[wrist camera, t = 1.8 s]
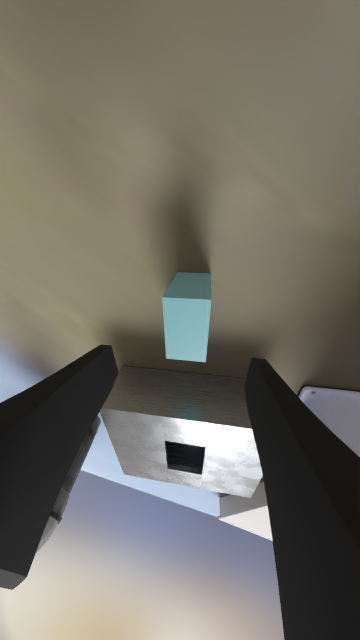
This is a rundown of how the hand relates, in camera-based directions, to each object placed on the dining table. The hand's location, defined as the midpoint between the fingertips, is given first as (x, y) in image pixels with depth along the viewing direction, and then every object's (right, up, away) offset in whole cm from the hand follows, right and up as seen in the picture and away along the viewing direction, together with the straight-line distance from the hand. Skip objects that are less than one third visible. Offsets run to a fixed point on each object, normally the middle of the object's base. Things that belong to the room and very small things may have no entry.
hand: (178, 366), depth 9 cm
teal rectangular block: (+1, +5, +8) cm, 9 cm away
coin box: (+1, -11, +17) cm, 20 cm away
